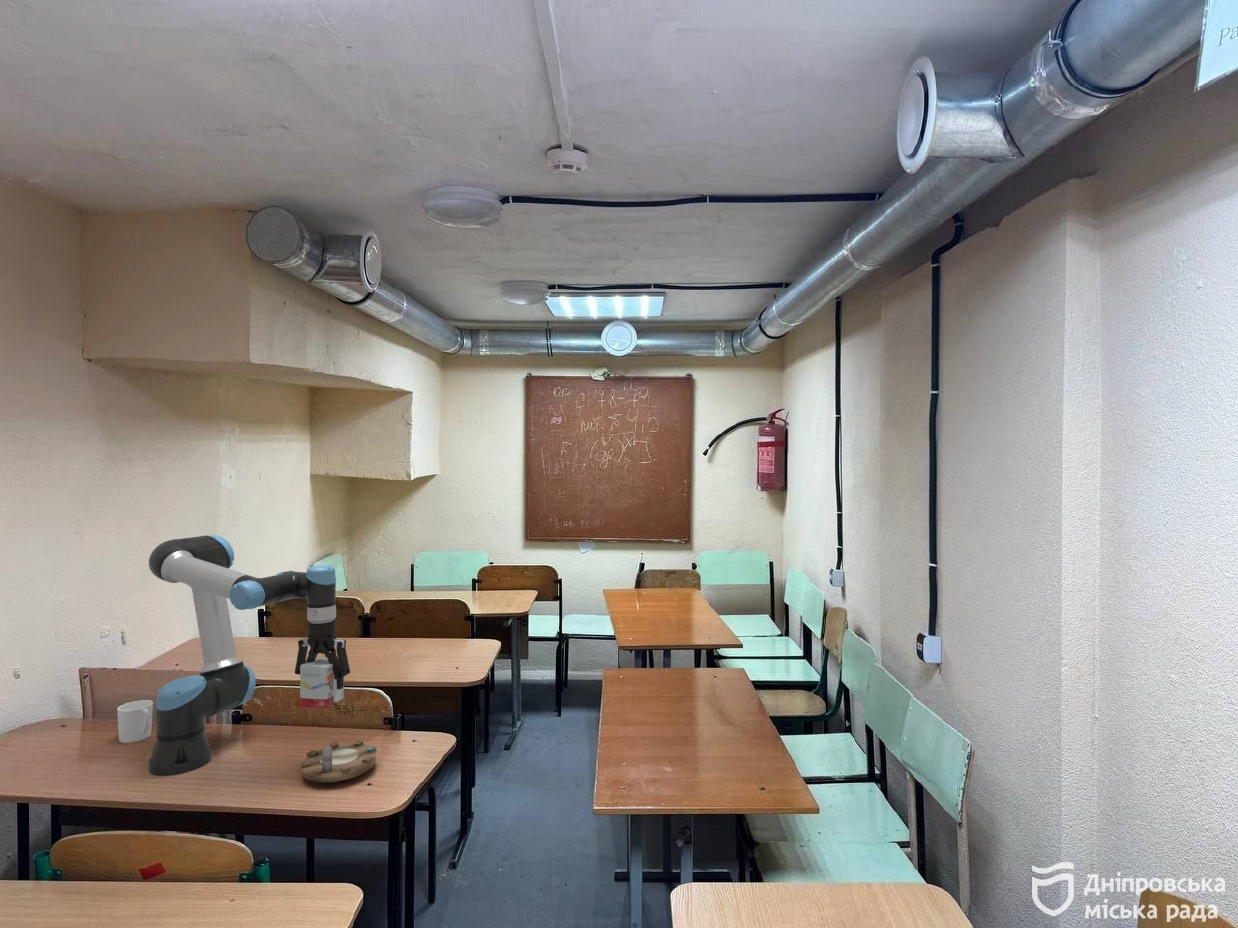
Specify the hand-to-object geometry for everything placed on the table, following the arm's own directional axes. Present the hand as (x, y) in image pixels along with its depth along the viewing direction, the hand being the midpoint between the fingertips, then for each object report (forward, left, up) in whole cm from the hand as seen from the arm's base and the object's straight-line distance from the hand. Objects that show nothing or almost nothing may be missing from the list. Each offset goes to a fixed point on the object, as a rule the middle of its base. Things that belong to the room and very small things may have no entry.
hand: (322, 699), depth 184 cm
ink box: (0, 0, -1) cm, 1 cm away
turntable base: (+7, -2, -19) cm, 21 cm away
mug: (-68, +5, -19) cm, 71 cm away
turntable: (+7, -2, -17) cm, 19 cm away
